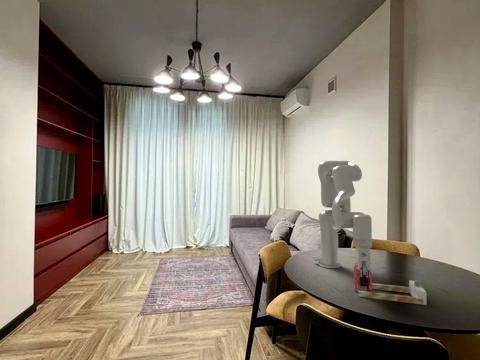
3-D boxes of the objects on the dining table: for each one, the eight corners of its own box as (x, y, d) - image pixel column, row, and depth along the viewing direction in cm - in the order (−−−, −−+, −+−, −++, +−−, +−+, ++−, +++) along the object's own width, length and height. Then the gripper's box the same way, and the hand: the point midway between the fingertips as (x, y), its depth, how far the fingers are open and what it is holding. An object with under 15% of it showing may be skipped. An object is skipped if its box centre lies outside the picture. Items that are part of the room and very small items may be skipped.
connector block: (417, 303, 104) (417, 285, 104) (409, 291, 115) (408, 275, 115) (426, 304, 103) (426, 286, 103) (417, 292, 114) (416, 276, 114)
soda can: (366, 288, 119) (366, 261, 119) (375, 294, 112) (374, 266, 112) (351, 288, 119) (350, 261, 119) (358, 295, 112) (358, 266, 112)
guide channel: (359, 296, 110) (358, 291, 110) (356, 285, 122) (356, 281, 122) (423, 304, 103) (423, 299, 103) (414, 292, 114) (414, 287, 114)
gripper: (374, 247, 106) (375, 290, 106) (369, 239, 122) (369, 276, 122) (354, 246, 109) (355, 288, 108) (351, 238, 125) (352, 274, 125)
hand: (362, 282), depth 115 cm, fingers open, 9 cm apart
